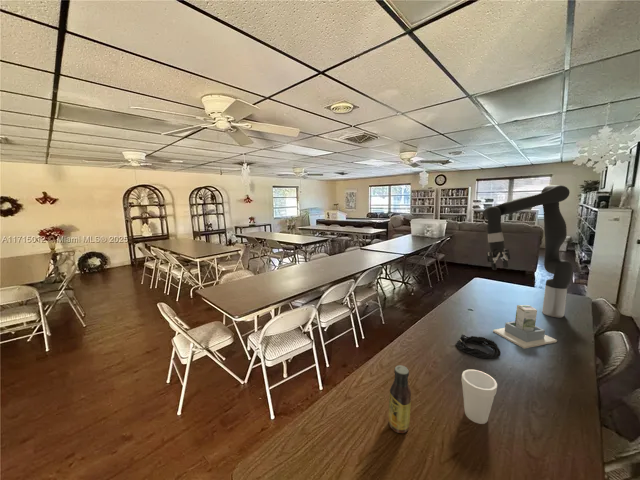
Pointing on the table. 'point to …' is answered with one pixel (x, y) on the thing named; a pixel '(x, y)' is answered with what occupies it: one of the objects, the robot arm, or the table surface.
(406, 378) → the sauce bottle
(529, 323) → the syrup box
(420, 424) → the table surface
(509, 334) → the end holder
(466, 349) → the cable
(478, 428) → the table surface
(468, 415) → the foam cup
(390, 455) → the table surface
